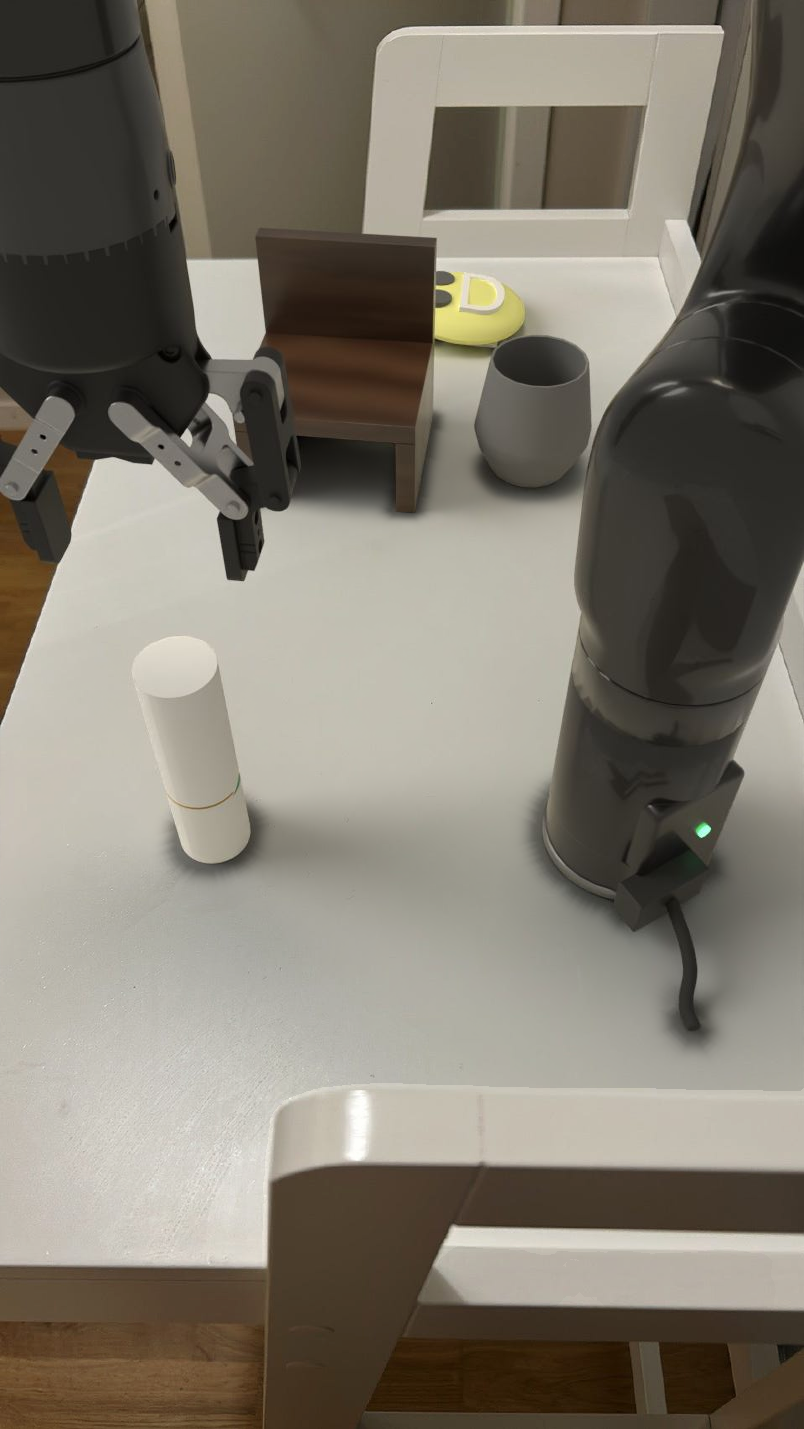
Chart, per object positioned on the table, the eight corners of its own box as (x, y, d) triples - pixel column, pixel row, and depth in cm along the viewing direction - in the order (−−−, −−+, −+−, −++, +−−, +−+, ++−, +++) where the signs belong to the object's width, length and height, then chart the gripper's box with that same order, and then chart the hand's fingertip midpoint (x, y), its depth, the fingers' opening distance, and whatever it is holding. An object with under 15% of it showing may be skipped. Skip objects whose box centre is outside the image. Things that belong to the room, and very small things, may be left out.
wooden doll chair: (414, 513, 84) (416, 328, 72) (244, 499, 85) (217, 315, 73) (432, 417, 93) (436, 237, 81) (278, 406, 94) (259, 227, 82)
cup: (605, 484, 86) (625, 376, 79) (507, 515, 84) (517, 406, 76) (547, 424, 92) (560, 318, 84) (453, 451, 89) (457, 344, 82)
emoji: (529, 265, 104) (409, 251, 104) (527, 329, 96) (397, 313, 96) (523, 302, 107) (406, 288, 107) (520, 367, 99) (394, 352, 99)
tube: (221, 875, 62) (180, 710, 51) (165, 843, 64) (113, 676, 52) (264, 823, 64) (234, 655, 53) (209, 794, 66) (169, 624, 55)
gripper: (-195, 231, 33) (-34, 602, 46) (244, 261, 32) (287, 633, 44) (-93, 136, 38) (28, 495, 50) (292, 159, 37) (319, 521, 49)
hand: (149, 560), depth 47 cm, fingers open, 8 cm apart
